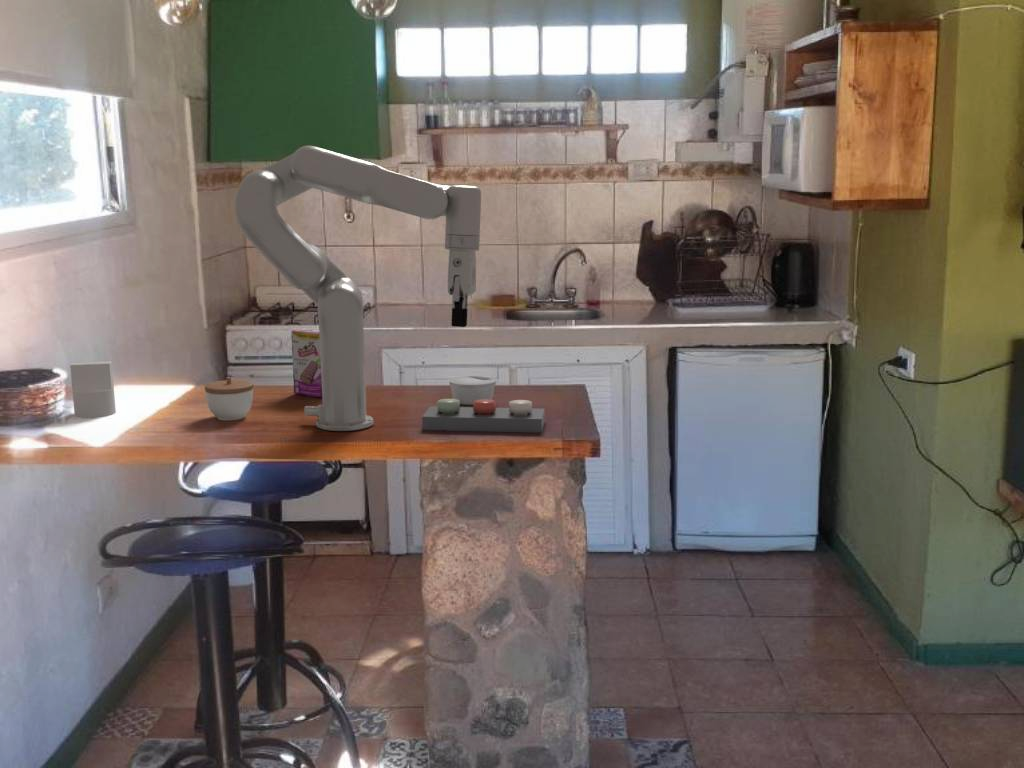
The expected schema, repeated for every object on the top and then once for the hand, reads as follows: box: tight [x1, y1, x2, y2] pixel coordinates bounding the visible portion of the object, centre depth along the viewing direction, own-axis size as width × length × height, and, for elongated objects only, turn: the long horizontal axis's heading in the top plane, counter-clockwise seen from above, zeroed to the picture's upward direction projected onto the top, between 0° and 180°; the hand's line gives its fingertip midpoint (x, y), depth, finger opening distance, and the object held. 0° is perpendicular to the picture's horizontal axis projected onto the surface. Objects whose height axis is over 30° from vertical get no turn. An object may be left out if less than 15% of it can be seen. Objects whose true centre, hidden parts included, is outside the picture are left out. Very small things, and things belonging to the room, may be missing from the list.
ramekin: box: [449, 375, 497, 406], centre depth 261 cm, size 11×11×5 cm
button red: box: [472, 399, 497, 415], centre depth 236 cm, size 5×5×5 cm
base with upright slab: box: [69, 360, 117, 419], centre depth 248 cm, size 9×9×12 cm
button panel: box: [421, 405, 546, 433], centre depth 236 cm, size 26×10×3 cm, turn 84°
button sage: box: [436, 398, 461, 414], centre depth 237 cm, size 5×5×5 cm
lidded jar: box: [204, 376, 254, 422], centre depth 244 cm, size 11×11×9 cm
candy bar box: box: [290, 327, 322, 399], centre depth 267 cm, size 11×5×16 cm, turn 59°
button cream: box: [508, 399, 533, 416], centre depth 235 cm, size 5×5×5 cm
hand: (459, 325), depth 237 cm, fingers closed
